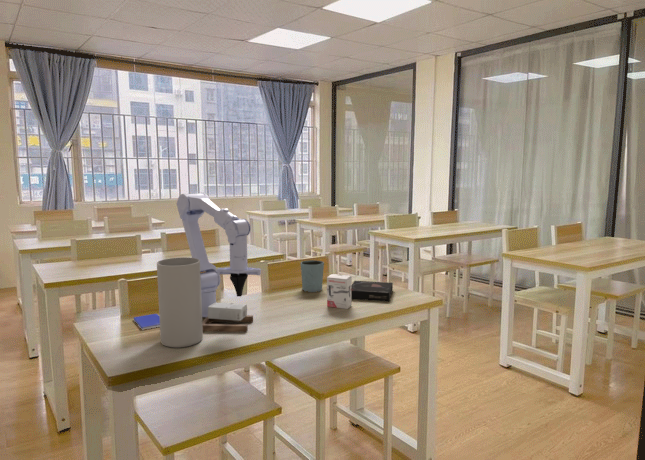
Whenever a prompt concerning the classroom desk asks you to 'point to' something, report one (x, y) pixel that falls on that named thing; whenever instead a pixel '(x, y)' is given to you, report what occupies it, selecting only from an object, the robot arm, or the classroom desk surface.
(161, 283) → the cylinder vase
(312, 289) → the teal cup
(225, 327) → the u rest
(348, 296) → the ink box
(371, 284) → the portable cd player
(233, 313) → the skincare box
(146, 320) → the hard drive
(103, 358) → the classroom desk surface
